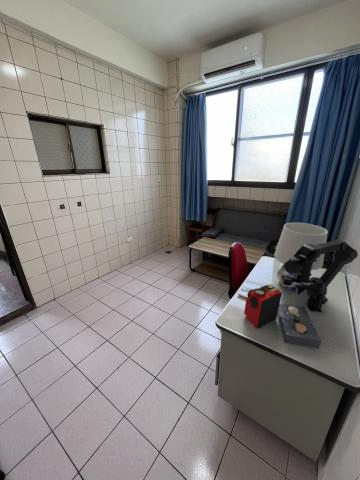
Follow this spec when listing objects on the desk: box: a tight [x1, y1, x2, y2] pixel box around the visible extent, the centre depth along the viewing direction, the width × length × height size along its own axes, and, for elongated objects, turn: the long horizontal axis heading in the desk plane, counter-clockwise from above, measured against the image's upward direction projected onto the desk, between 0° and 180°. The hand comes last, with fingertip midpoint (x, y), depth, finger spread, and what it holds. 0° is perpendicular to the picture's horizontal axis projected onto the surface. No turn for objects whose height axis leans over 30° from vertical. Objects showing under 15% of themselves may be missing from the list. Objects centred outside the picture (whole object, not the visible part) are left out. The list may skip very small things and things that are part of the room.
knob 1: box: [288, 306, 298, 315], centre depth 106 cm, size 4×4×6 cm
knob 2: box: [295, 323, 306, 333], centre depth 95 cm, size 4×4×6 cm
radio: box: [243, 284, 283, 330], centre depth 103 cm, size 16×10×20 cm, turn 118°
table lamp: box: [273, 222, 328, 292], centre depth 128 cm, size 27×27×40 cm
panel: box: [276, 303, 322, 350], centre depth 100 cm, size 14×22×5 cm, turn 168°
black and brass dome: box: [293, 313, 301, 322], centre depth 99 cm, size 3×3×4 cm
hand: (298, 294), depth 107 cm, fingers closed
